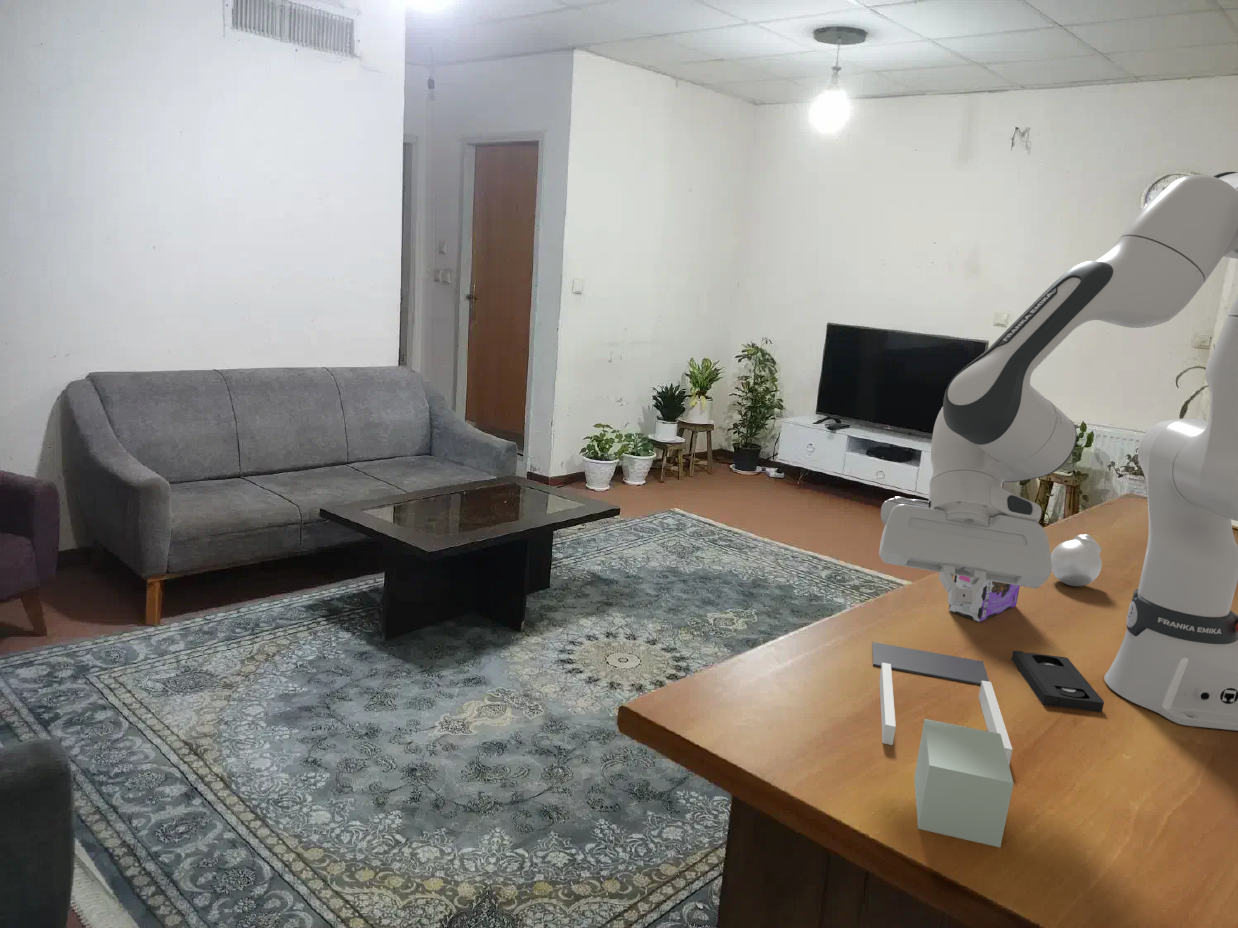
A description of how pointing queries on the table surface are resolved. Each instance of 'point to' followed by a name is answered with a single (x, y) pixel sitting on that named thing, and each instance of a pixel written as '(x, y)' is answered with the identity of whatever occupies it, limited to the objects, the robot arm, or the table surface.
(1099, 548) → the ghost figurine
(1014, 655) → the vhs tape
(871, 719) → the table surface
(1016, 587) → the candy box
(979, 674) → the channel
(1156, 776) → the table surface
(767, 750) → the table surface
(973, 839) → the sage block
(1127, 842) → the table surface
